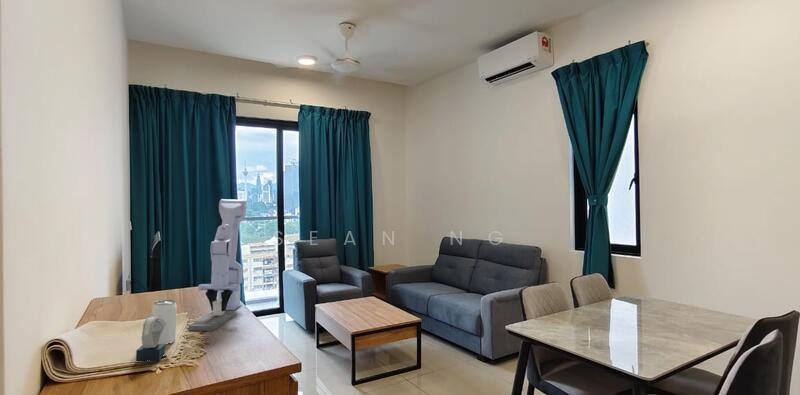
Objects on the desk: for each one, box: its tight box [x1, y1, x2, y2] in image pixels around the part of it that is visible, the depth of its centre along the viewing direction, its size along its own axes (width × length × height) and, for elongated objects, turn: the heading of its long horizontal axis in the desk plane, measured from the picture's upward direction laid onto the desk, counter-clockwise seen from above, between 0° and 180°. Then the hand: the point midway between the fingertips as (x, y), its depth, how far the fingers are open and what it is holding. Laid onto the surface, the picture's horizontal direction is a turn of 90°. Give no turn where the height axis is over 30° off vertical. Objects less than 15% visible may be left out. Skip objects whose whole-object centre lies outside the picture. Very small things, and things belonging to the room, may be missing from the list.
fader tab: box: [212, 298, 226, 316], centre depth 149 cm, size 4×3×5 cm
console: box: [188, 311, 235, 332], centre depth 144 cm, size 18×8×2 cm, turn 1°
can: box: [151, 299, 178, 344], centre depth 123 cm, size 6×6×12 cm
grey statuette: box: [135, 316, 166, 362], centre depth 110 cm, size 6×8×11 cm
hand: (218, 310), depth 149 cm, fingers closed on fader tab, 3 cm apart
